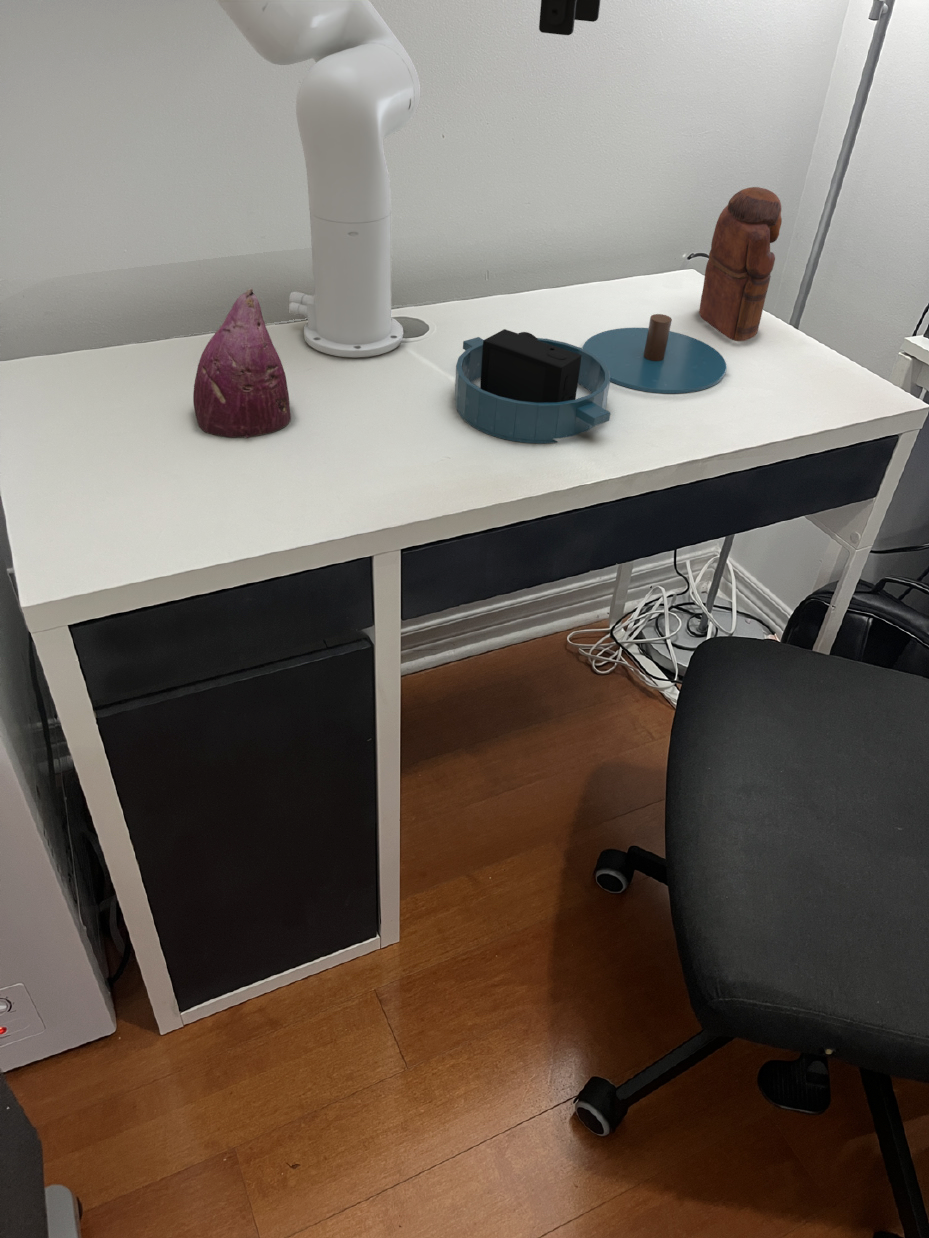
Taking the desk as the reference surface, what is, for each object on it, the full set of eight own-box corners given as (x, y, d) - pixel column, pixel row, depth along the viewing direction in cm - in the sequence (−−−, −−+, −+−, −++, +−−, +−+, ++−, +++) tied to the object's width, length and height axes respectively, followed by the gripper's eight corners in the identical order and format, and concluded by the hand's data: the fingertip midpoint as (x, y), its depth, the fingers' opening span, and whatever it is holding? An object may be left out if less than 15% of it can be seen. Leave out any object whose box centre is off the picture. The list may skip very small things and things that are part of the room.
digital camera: (580, 408, 108) (588, 351, 104) (555, 426, 105) (562, 367, 100) (505, 381, 113) (510, 324, 108) (479, 397, 109) (483, 339, 105)
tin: (537, 470, 98) (542, 431, 95) (411, 386, 111) (412, 349, 108) (652, 427, 107) (659, 389, 104) (522, 353, 120) (525, 318, 117)
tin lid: (655, 412, 109) (664, 362, 105) (551, 355, 120) (556, 308, 116) (754, 375, 118) (766, 328, 114) (649, 325, 129) (657, 280, 125)
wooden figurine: (771, 343, 126) (809, 202, 115) (729, 347, 124) (764, 204, 113) (725, 309, 135) (757, 174, 123) (686, 312, 133) (714, 176, 121)
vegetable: (255, 414, 111) (261, 279, 105) (308, 437, 105) (318, 296, 98) (173, 419, 104) (175, 275, 97) (225, 444, 97) (230, 292, 91)
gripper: (575, -205, 88) (556, 12, 99) (520, -215, 75) (505, 35, 86) (655, -201, 86) (626, 19, 97) (612, -210, 74) (584, 44, 85)
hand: (569, 26), depth 92 cm, fingers open, 9 cm apart
